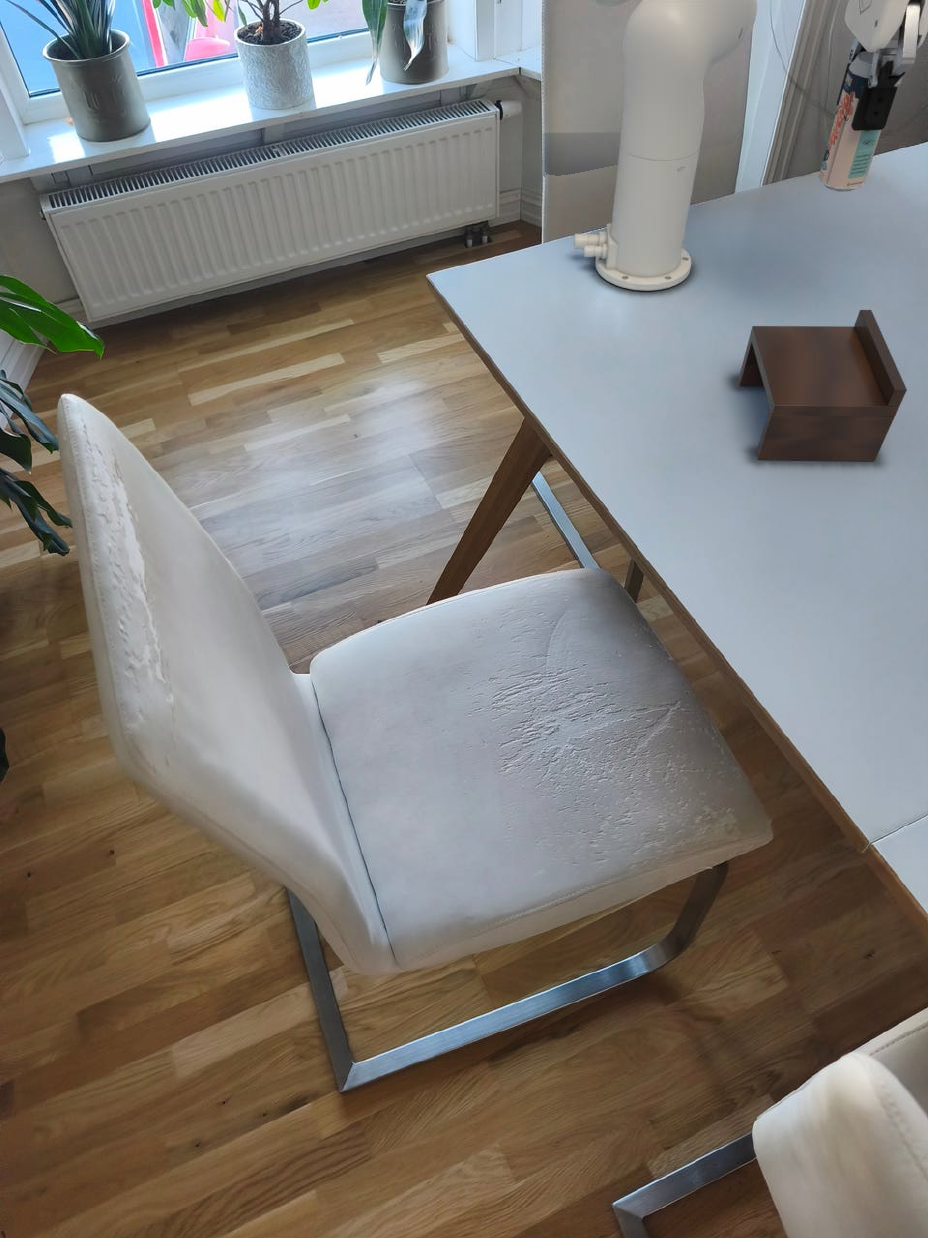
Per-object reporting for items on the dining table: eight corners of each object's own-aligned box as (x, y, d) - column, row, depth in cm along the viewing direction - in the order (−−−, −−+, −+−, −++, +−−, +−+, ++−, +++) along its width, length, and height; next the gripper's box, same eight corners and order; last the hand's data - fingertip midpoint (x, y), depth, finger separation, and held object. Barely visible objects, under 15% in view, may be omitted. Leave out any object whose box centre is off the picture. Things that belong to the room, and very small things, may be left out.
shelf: (757, 460, 89) (780, 388, 82) (737, 379, 98) (756, 308, 91) (874, 461, 89) (907, 389, 82) (844, 380, 97) (871, 309, 90)
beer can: (827, 170, 94) (863, 45, 85) (870, 180, 92) (911, 54, 83) (810, 186, 92) (844, 60, 82) (853, 198, 90) (893, 69, 81)
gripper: (856, -134, 78) (802, 87, 92) (915, -87, 68) (844, 154, 82) (939, -137, 78) (872, 85, 92) (1012, -91, 67) (923, 152, 81)
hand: (859, 115), depth 87 cm, fingers closed on beer can, 4 cm apart
